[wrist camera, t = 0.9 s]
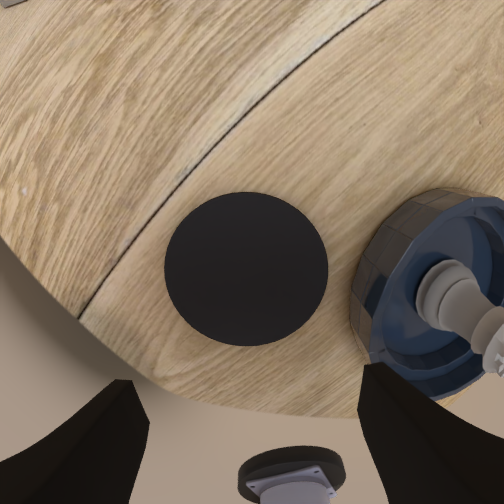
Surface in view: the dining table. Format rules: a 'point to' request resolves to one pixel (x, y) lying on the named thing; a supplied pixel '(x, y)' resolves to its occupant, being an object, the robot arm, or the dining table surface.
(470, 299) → the rook chess piece
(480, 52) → the dining table surface
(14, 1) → the flask
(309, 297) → the coaster
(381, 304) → the bowl
